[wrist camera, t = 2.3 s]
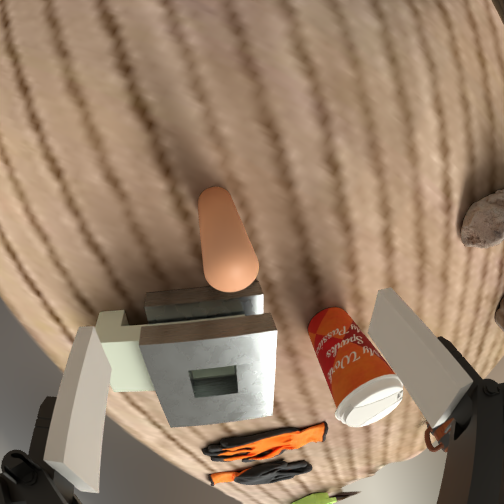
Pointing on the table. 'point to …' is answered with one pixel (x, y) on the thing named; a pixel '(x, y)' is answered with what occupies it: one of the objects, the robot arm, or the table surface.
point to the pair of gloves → (264, 454)
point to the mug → (439, 435)
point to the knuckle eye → (137, 353)
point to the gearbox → (316, 499)
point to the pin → (225, 243)
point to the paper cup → (353, 369)
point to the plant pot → (500, 315)
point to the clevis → (210, 354)
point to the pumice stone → (484, 222)
